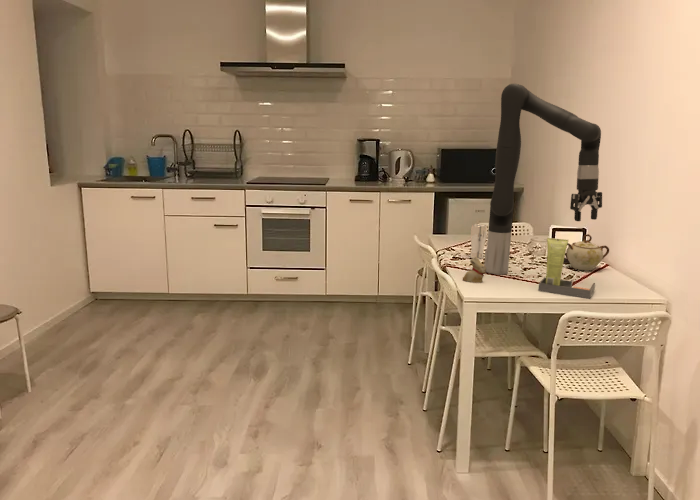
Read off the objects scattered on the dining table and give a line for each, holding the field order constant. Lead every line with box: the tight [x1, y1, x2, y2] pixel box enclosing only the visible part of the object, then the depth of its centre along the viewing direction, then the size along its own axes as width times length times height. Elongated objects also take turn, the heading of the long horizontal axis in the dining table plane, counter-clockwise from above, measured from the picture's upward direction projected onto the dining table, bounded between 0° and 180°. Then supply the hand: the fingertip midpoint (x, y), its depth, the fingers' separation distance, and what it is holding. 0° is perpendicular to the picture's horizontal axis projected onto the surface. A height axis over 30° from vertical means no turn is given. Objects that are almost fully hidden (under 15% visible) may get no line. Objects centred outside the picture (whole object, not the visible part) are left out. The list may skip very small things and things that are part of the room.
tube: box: [545, 237, 569, 286], centre depth 223 cm, size 6×5×20 cm
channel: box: [538, 276, 596, 300], centre depth 224 cm, size 18×12×3 cm, turn 61°
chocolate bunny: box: [462, 257, 486, 284], centre depth 233 cm, size 6×8×10 cm
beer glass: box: [469, 223, 487, 260], centre depth 273 cm, size 7×7×15 cm
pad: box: [572, 286, 590, 290], centre depth 225 cm, size 6×6×1 cm
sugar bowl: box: [565, 233, 610, 271], centre depth 258 cm, size 20×15×15 cm
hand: (585, 220), depth 228 cm, fingers open, 8 cm apart
